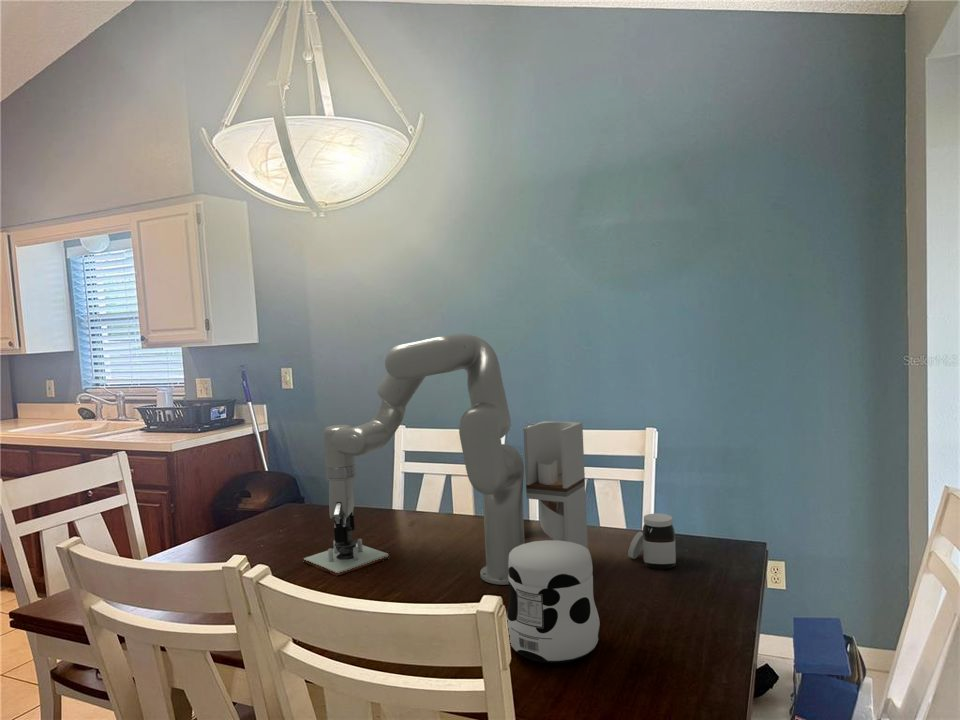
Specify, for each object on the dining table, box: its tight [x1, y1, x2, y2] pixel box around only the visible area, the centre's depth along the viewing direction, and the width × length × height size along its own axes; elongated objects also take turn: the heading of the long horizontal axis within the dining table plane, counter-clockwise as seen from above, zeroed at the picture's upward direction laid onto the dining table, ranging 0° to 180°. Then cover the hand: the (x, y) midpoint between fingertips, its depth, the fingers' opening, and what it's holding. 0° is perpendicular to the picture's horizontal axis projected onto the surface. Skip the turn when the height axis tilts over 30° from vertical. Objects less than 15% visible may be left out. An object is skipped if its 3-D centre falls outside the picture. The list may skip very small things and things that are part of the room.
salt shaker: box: [335, 514, 358, 560], centre depth 177 cm, size 6×6×12 cm
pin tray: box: [303, 538, 390, 573], centre depth 178 cm, size 16×16×4 cm
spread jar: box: [627, 513, 677, 570], centre depth 165 cm, size 12×11×12 cm
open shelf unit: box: [522, 420, 589, 550], centre depth 166 cm, size 11×11×35 cm
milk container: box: [506, 539, 601, 664], centre depth 125 cm, size 17×17×18 cm
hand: (345, 536), depth 178 cm, fingers open, 9 cm apart
